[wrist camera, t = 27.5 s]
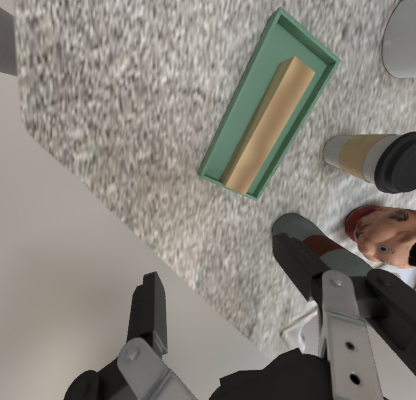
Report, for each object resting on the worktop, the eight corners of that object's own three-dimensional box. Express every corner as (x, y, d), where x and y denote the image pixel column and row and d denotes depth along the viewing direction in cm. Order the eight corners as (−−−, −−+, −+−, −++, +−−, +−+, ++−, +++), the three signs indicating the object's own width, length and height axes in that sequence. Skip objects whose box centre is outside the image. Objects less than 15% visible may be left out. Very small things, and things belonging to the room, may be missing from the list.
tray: (251, 196, 42) (257, 201, 39) (197, 173, 37) (199, 177, 35) (328, 64, 34) (341, 60, 31) (270, 15, 30) (280, 6, 27)
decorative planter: (401, 184, 49) (482, 207, 36) (395, 222, 54) (465, 254, 41) (330, 212, 48) (387, 246, 35) (331, 248, 53) (382, 289, 41)
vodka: (269, 246, 48) (397, 411, 21) (269, 215, 45) (426, 367, 18) (303, 238, 50) (465, 385, 23) (306, 207, 46) (506, 339, 19)
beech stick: (219, 179, 38) (225, 186, 34) (280, 62, 32) (295, 55, 28) (238, 187, 39) (245, 195, 36) (299, 77, 33) (315, 72, 30)
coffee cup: (345, 116, 38) (441, 116, 25) (360, 151, 42) (450, 168, 29) (307, 149, 40) (379, 166, 26) (325, 180, 44) (396, 209, 30)
